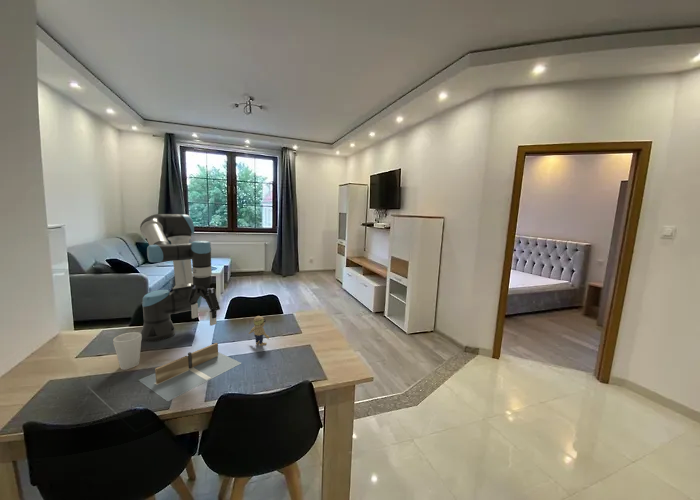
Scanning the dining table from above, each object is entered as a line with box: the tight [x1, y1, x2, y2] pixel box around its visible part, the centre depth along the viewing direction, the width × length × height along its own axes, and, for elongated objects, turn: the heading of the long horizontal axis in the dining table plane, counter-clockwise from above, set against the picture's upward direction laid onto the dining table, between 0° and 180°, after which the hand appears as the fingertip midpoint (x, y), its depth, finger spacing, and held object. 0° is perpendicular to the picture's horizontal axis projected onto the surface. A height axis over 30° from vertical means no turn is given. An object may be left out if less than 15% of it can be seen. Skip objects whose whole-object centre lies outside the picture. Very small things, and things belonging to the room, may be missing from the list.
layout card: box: [138, 351, 242, 402], centre depth 120 cm, size 22×31×1 cm
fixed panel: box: [154, 355, 189, 384], centre depth 116 cm, size 1×12×6 cm, turn 148°
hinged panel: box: [187, 342, 219, 368], centre depth 127 cm, size 1×13×7 cm, turn 148°
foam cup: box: [112, 331, 143, 371], centre depth 122 cm, size 10×9×13 cm
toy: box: [248, 315, 270, 346], centre depth 145 cm, size 13×6×15 cm, turn 65°
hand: (203, 321), depth 132 cm, fingers open, 13 cm apart
